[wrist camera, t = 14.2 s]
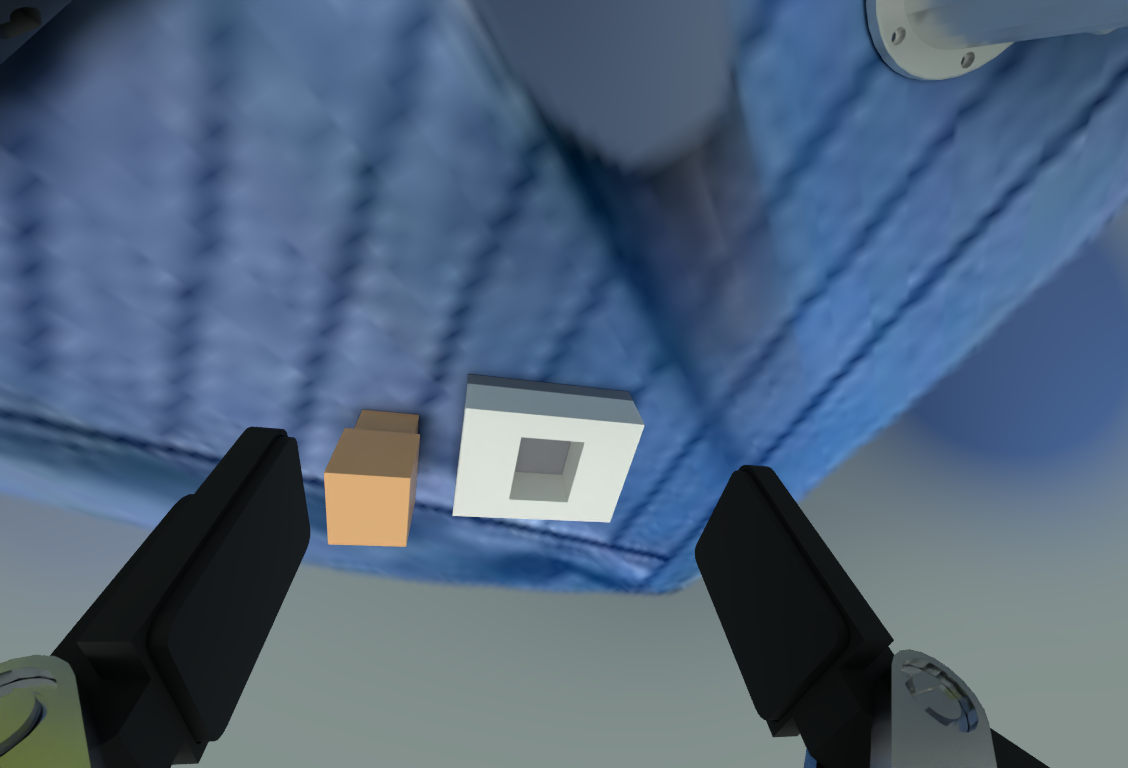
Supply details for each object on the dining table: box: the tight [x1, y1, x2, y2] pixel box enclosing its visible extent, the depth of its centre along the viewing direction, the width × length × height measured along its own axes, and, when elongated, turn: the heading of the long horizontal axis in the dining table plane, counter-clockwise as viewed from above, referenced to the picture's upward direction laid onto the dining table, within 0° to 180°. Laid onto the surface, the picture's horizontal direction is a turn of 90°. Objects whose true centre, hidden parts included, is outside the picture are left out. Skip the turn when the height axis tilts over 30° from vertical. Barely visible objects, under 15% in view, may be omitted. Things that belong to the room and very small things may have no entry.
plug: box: [324, 410, 420, 547], centre depth 36 cm, size 6×7×8 cm
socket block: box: [453, 374, 645, 522], centre depth 39 cm, size 14×11×5 cm
